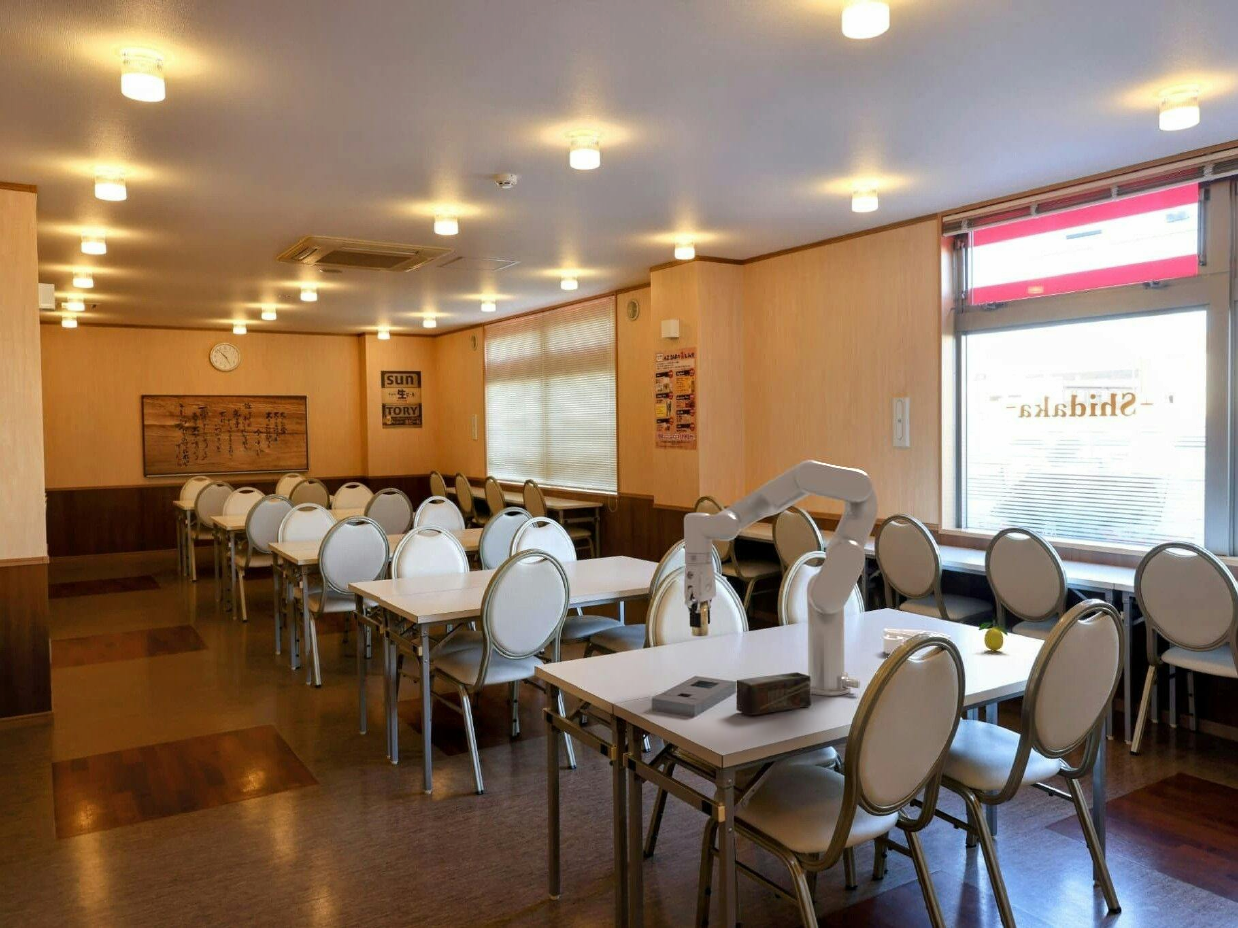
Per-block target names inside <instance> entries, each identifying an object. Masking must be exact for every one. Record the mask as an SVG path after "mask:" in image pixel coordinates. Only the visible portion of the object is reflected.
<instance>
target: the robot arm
mask: <svg viewBox="0 0 1238 928" xmlns="http://www.w3.org/2000/svg"><path fill="white" fill-rule="evenodd" d="M809 495H814V496H818V497H823V498H829V499H833V500H837V501H842V502H844V509H843V513H842V515H841V518H840V520H839V522H838V524H837V526H836V528H835V531H834V533H833V535H832V536H831V539H830V541H829V542H828V544H827V546H826V549H825V550H824V551H825V553H824V554H825V555H824V556H825V558H824V561H823V563H822V566H821V567H820V570H819V571H818V572H816V573H814V574H813V575H812V576H810V577H811V578H810V579H809V580H808V581H807V587H806V603H807V606H806V607H807V670H808V671H807V675H808V676H810V678H811V695H812V694H813V695H818V696H828V697H831V696H832V697H833V696H834V697H835V696H836V697H837V696H843V695H847V694H849V693H850V692H851V689H860V687H861V681H860V680H859V679H858V678H850V677H849V674H848V672H846V671H845V605H846V604H847V602H848V601H849V599H850V596H851V595H852V592H853V590H854V588H855V586H856V584H857V582H858V580H859V578H860V576H861V574H862V572H863V569H864V566H865V563H866V555H865V551H864V550H865V547H866V544H867V543H868V541H869V538H870V535H871V533H872V531H873V529H874V526H875V525H876V521H877V519H878V518H877V517H878V514H879V513H878V511H879V503H878V497H877V494H876V490H875V488H874V486H873V481H872V478H871V477H870V475H868V473H867V472H865V471H863V470H861V469H858V468H854V467H853V468H848V467H843V466H838V465H837V466H836V465H832V464H827V463H823V462H819V461H816V460H813V459H807V460H804V461H801V462H800V463H798V464H796V465H795V466H793V467H791V468H790V469H787V470H786V471H785V472H783V473H781V474H780V475H778V476H776V477H775V478H773V479H771V480H769V481H768V482H766V483H764V484H763V485H761V486H759V487H758V488H756V489H755V490H754V491H752V492H751V493H749V494H747V495H746V496H744V497H742V498H741V499H739V500H737V501H736V502H734V503H733V504H731V505H729V506H727V507H725V508H724V509H722V510H721V511H719V512H718V513H717V514H710V513H707V512H690V513H689V512H688V513H687V514H685V516H684V517H683V531H684V533H683V535H684V536H683V537H684V565H685V569H684V584H683V585H684V586H683V587H684V588H683V589H684V605H685V606H686V607H687V609H688V613H689V627H690V628H692V627H697V628H700V627H701V613H699V610H700V602H704V601H707V603H708V625H709V624H711V608H712V606H711V605H712V600H713V599H714V598H715V597H716V596H717V595H716V594H717V588H716V587H717V586H716V585H717V583H716V573H715V567H714V562H713V541H714V540H715V541H720V542H728V541H729V542H730V541H733V540H734V539H735V538H737V536H738V535H739V533H740V532H741V531H742V530H744V529H746V528H748V527H749V526H751V525H753V524H755V523H757V522H758V521H760V520H762V519H764V518H766V517H771V516H775V515H777V514H779V513H781V512H783V511H784V510H786V509H788V508H789V507H791V506H793V505H794V504H796V503H798V502H800V501H801V500H803V499H805V498H807V497H808V496H809ZM696 600H697V601H696ZM693 603H696V606H695V605H694V604H693Z"/></svg>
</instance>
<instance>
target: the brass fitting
mask: <svg viewBox="0 0 1238 928" xmlns="http://www.w3.org/2000/svg"><path fill="white" fill-rule="evenodd" d="M695 601H697V600H695ZM693 604H694V605H695V606H696V603H693ZM699 613H701V627H700V628H697V627H691V635H692V636H694V637H706V636H709V624H708V603H707V601H704V602H700V610H699Z"/></svg>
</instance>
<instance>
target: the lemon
mask: <svg viewBox="0 0 1238 928" xmlns="http://www.w3.org/2000/svg"><path fill="white" fill-rule="evenodd" d="M992 624H993V626H992V627H991V628H989V629H988V630H986V632H985V634H984V645H985V647H986V648H987V649H989V650H991V651H992V652H993V653H994V652H995V653H996V652H997V651H998V650H1000V649H1002V648H1003V646H1004V636H1003V634H1004V635H1006V636H1009V635H1008V632H1007V630H1006V629H1005V628H1004V627H1003V626H1000V625H995V621H993V622H983V623H982V624H981V625H980V626H979V628H978V631H983V630H985V629H987V628H988V627H990V626H991V625H992Z"/></svg>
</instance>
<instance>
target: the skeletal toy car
mask: <svg viewBox="0 0 1238 928" xmlns="http://www.w3.org/2000/svg"><path fill="white" fill-rule="evenodd" d="M924 633H933V634H940V635H942V636H944V637H948V638H949V639H951V635H949V634H945V633H943V632H942V633H941V632H935V631H928V630H920V629H894V628H884V629H883V653H884V652H885V653H884V654H887V653H888V654H887V655H890V653H891V652H892V651H893V650H894V649H896V647H898V645H900V644H901V643H902V642H904V641H905V642H906V639H909V638H911V637H913V636H915V635H917V634H924ZM951 640H952V639H951Z"/></svg>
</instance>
